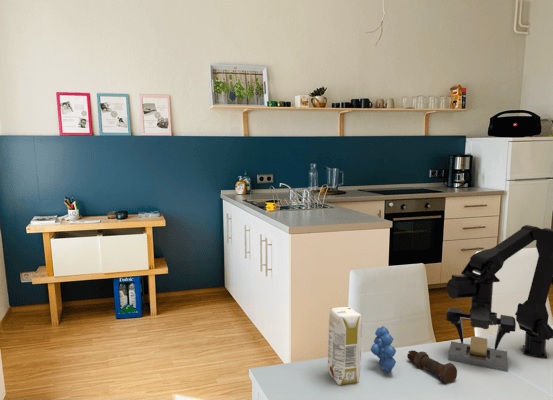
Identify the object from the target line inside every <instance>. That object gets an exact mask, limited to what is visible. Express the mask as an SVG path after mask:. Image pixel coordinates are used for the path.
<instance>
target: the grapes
mask: <svg viewBox="0 0 553 400" xmlns="http://www.w3.org/2000/svg"><path fill="white" fill-rule="evenodd" d="M374 334H375V338H374V339H373V344H372V345H371V346H370V351H371V353H372V354H373V355H374V356H376V357H377V358H378V363H377V364H378V365H379V367H380V368H381V369H382V370H383V371H385V372H386V373H387V374H390V373H391V372H392V370H393V368H394V367H395V365H396V363H397V361H396V359H395V358H394V357H395V355H396V353H397V350H396V348H395V347H394V346H393V345H392V343H393V341H394V337H393V336H392V334H390V331H389V330H388V328H387V327H385V326H384V325H383V326H381V327H378V328H376V330H375V333H374Z"/></svg>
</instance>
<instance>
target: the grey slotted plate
mask: <svg viewBox="0 0 553 400" xmlns="http://www.w3.org/2000/svg"><path fill="white" fill-rule="evenodd" d="M467 353H469V354H467ZM487 357H489V358H487ZM447 358H448V361H453V362H456V363H462V364H466V365H467V364H468V365H472V366H478V367H483V368H486V369H492V370H497V371H503V372H508V371H509V358H508V351H507V350H504V349H503V350H501V349H498V348H497V349H496V350H495V348H491V347H490V348H489V347H487V354H486V358H482V357H477V356H471V355H470V344H469V343H464V342H463V344H462V343H461V342H458V341H452V340H451V341H450V346H449V351H448V355H447Z"/></svg>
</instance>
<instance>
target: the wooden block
mask: <svg viewBox="0 0 553 400" xmlns="http://www.w3.org/2000/svg"><path fill="white" fill-rule="evenodd" d="M469 345H470V353H469V355H471V356H477V357H482V358H487V356H486V354H487V348H488V338H485V337H481V336H480V337H478V336H473V335H471V336H470V344H469Z"/></svg>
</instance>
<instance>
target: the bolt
mask: <svg viewBox="0 0 553 400" xmlns="http://www.w3.org/2000/svg"><path fill="white" fill-rule="evenodd" d="M407 359H408V361H411V362H412V363H414V365H415V367H416V368H417V369H425V370H427V371H430V372H431V373H433V374H436V375H437V376H438V377H439V378H440V381H441V383H443V384H445V385H449V384H453V383H454V381H456V379H457V375H458V369H457V367H456V365H455V364H454V363H452V362H447V363H445V364H443V363H441V362H439V361H437V360H435V359H432V358H431V357H430V356H429V354H428V353H427V352H426V351H416V350H408V352H407Z"/></svg>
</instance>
